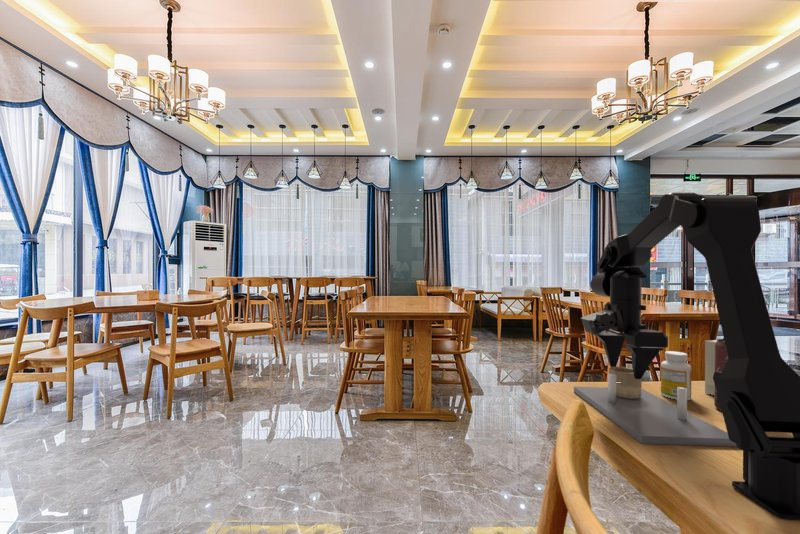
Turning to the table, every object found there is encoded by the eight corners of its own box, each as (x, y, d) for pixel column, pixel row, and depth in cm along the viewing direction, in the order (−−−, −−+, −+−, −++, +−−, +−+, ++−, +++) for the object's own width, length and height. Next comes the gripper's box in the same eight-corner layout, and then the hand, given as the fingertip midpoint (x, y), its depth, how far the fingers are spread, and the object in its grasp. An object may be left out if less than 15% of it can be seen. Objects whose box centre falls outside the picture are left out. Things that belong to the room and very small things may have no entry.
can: (766, 419, 69) (766, 344, 69) (727, 415, 71) (727, 342, 71) (743, 407, 75) (743, 339, 75) (707, 404, 77) (708, 337, 77)
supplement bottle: (673, 392, 84) (673, 349, 85) (697, 400, 79) (698, 355, 79) (654, 393, 83) (655, 350, 83) (678, 402, 78) (678, 356, 78)
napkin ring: (646, 398, 75) (646, 374, 75) (618, 397, 75) (619, 373, 76) (630, 389, 81) (630, 367, 81) (604, 389, 81) (605, 366, 81)
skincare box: (725, 399, 80) (725, 343, 80) (703, 393, 84) (703, 340, 84) (745, 397, 81) (746, 342, 81) (723, 391, 86) (723, 339, 86)
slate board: (739, 446, 58) (739, 404, 58) (641, 443, 59) (642, 401, 59) (641, 393, 83) (641, 364, 83) (573, 391, 84) (574, 362, 84)
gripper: (568, 295, 88) (567, 361, 88) (609, 302, 69) (609, 385, 69) (616, 296, 88) (615, 362, 88) (670, 303, 69) (669, 386, 69)
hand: (624, 372), depth 78 cm, fingers open, 9 cm apart
